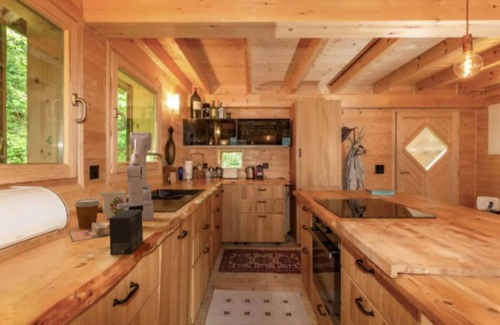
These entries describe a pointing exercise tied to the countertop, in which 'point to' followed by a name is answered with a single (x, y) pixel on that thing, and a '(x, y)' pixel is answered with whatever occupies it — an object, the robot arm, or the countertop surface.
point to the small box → (125, 232)
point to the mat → (84, 235)
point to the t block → (100, 228)
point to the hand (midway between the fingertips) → (135, 223)
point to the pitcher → (112, 202)
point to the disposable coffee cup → (86, 212)
